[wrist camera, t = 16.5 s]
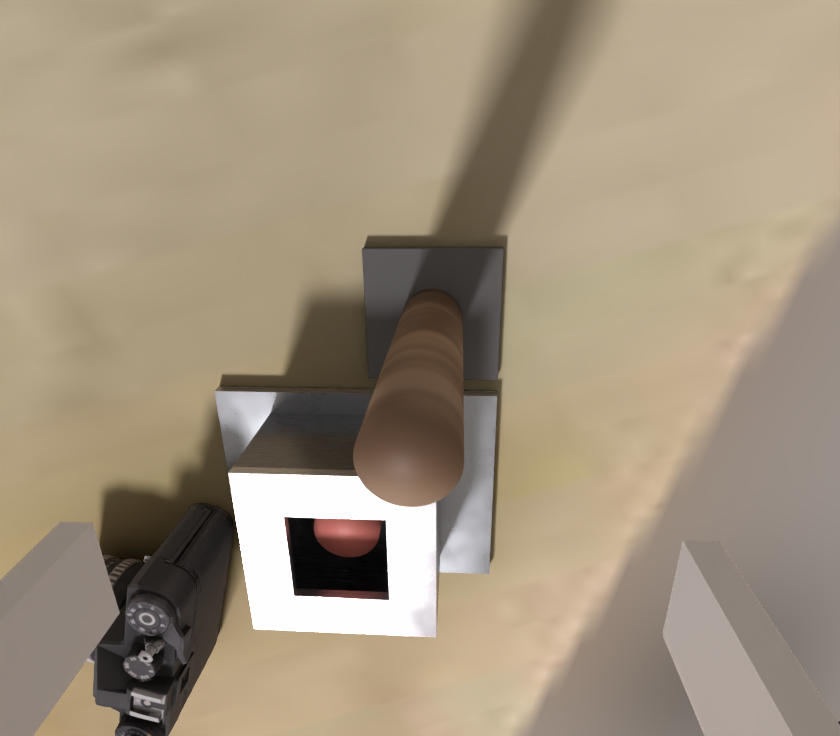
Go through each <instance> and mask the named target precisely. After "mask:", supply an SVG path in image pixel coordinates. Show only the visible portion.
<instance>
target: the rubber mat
mask: <svg viewBox="0 0 840 736" xmlns="http://www.w3.org/2000/svg"><path fill="white" fill-rule="evenodd" d="M503 250H504V249H503V247H364V248H363V249H362V255H363V275H364V294H365V314H366V334H367V353H368V373H369V378H379V375H380V373H381V370H382V367H383V364H384V361H385V359H386V356H387V353H388V350H389V348H390V345H391V342H392V339H393V336H394V334H395V331H396V328H397V325H398V323H399V320H400V317H401V314H402V311H403V309H404V306H405V304H406V303H407V301H408V300H409V299H410V298H411V297H412V296H413V295H414V294H416V293H417V292H419V291H422V290H426V289H438V290H442V291H445V292H447V293H448V294H450V295H451V296H452V297H454V298H455V300H456V301H457V302H458V304H459V306H460V308H461V311H462V316H463V380H498V361H499V339H500V317H501V295H502V272H503Z"/></svg>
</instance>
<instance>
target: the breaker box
mask: <svg viewBox="0 0 840 736" xmlns="http://www.w3.org/2000/svg"><path fill="white" fill-rule="evenodd" d="M463 391H464V469H463V473H462V476H461V478H460V480H459V482H458V484H457V485H456V487H455V488H454V489H453V490H452V491H451V492H450V493H449V494H448V495H447V496H445V497H444V498H442V499H441V500H439V501H437V502H435V503H432V504H429V505H425V506H419V507H403V506H398V505H394V504H391V503H388V502H385V501H383V500H381V499H380V498H378V497H376V496H375V495H374V494H372V493H371V492H370V491H369V490H368V489H367V488H366V487H365V486H364V485H363V484H362V482H361V481H360V479H359V477H358V475H357V473H356V470H355V467H354V462H353V451H354V445H355V442H356V439H357V437H358V434H359V431H360V428H361V425H362V423H363V420H364V417H365V414H366V412H367V409H368V406H369V403H370V400H371V398H372V395H373V392H374V389H360V388H301V387H243V386H219V387H218V388H217V389H216V390H215V391H214V392H215V398H216V404H217V410H218V416H219V422H220V428H221V434H222V440H223V446H224V452H225V458H226V464H227V470H228V476H229V482H230V488H231V494H232V500H233V506H234V511H235V517H236V523H237V529H238V535H239V541H240V547H241V553H242V559H243V565H244V571H245V577H246V583H247V589H248V595H249V601H250V607H251V613H252V619H253V625H254V629H270V630H291V631H312V632H333V633H354V634H375V635H396V636H417V637H436V632H437V612H438V591H439V572H450V573H475V574H489V567H490V545H491V523H492V501H493V478H494V456H495V434H496V412H497V391H477V390H463ZM315 518H336V519H366V520H382V525H381V530H380V535H379V539H378V542H377V544H376V545H375V547H374V548H373V549H372V550H371V551H369V552H368V553H366V554H364V555H361V556H358V557H342V556H338V555H335V554H333V553H331V552H329V551H328V550H326V549H325V548H324V547H323V546H322V545H321V544H320V543H319V542H318V540H317V538H316V536H315V533H314V521H315Z"/></svg>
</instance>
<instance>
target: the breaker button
mask: <svg viewBox="0 0 840 736" xmlns="http://www.w3.org/2000/svg"><path fill="white" fill-rule="evenodd" d="M381 525H382V520H366V519H336V518H315V521H314V533H315V536H316V538H317V540H318V542H319V543H320V544H321V545H322V546H323V547H324V548H325V549H326V550H328V551H329V552H331V553H333V554H335V555H338V556H342V557H358V556H361V555H364V554H366V553H368V552H369V551H371V550H372V549H373V548H374V547H375V545H376V544H377V542H378V539H379V535H380V530H381Z"/></svg>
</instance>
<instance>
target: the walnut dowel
mask: <svg viewBox="0 0 840 736" xmlns="http://www.w3.org/2000/svg"><path fill="white" fill-rule="evenodd" d="M353 462H354V467H355V470H356V473H357V475H358V477H359V479H360V481H361V482H362V484H363V485H364V486H365V487H366V488H367V489H368V490H369V491H370V492H371V493H372V494H374V495H375V496H376V497H378V498H380V499H381V500H383V501H385V502H388V503H391V504H394V505H398V506H403V507H419V506H425V505H429V504H432V503H435V502H437V501H439V500H441V499H442V498H444V497H445V496H447V495H448V494H449V493H450V492H451V491H452V490H453V489H454V488H455V487H456V485H457V484H458V482H459V480H460V478H461V476H462V473H463V469H464V391H463V316H462V311H461V308H460V306H459V304H458V302H457V301H456V300H455V298H454V297H452V296H451V295H450V294H448V293H447V292H445V291H442V290H438V289H426V290H422V291H419V292H417V293H416V294H414V295H413V296H412V297H411V298H410V299H409V300H408V301H407V303H406V304H405V306H404V309H403V311H402V314H401V317H400V320H399V323H398V325H397V328H396V331H395V334H394V336H393V339H392V342H391V345H390V348H389V350H388V353H387V356H386V359H385V361H384V364H383V367H382V370H381V373H380V375H379V378H378V381H377V384H376V387H375V389H374V392H373V395H372V398H371V400H370V403H369V406H368V409H367V412H366V414H365V417H364V420H363V423H362V425H361V428H360V431H359V434H358V437H357V439H356V442H355V445H354V451H353Z"/></svg>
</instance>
